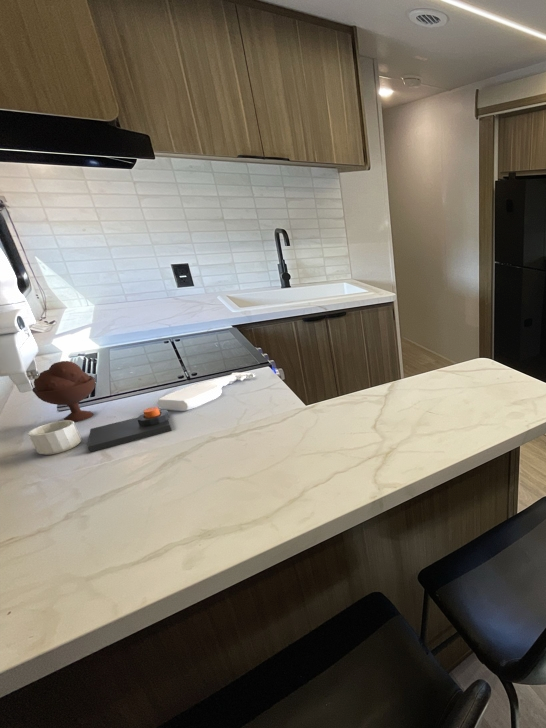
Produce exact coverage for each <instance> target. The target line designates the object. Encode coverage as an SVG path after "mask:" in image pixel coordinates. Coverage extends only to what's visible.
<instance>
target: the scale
mask: <svg viewBox="0 0 546 728" xmlns="http://www.w3.org/2000/svg"><path fill="white" fill-rule="evenodd" d="M159 411H160V415H158V416H156V417H152V418H145V415H144V413H142V414H140V415H139V416H137V417H133V418H129V419H125V420H120V421H117V422H112V423H108V424H105V425H101V426H97V427H92V428H90V430H89V435H88V436H89V437H88V438H89V439H88V445H87V448H88V450H89V452H90V453H93V452H97V451H100V450H104V449H108V448H111V447H115V446H119V445H122V444H126V443H130V442H134V441H137V440H140V439H145V438H148V437H152V436H157V435H159V434H163V433H166V432H167V433H168V432H170V431H172V426H171V423H170V419H171V417H170V414H169V410H165V409H159Z"/></svg>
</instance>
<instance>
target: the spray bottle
mask: <svg viewBox="0 0 546 728" xmlns="http://www.w3.org/2000/svg"><path fill="white" fill-rule="evenodd" d="M254 377H256V373H253V372H232V373H231V374H229V375H227V376H223V377H219V378H216V379H211V380H207V381H200V382H198V383H194V384H191V385H188V386H186V387H183V388H180V389H178V390H175V391H172V392H171V393H168V394H166V395H163V396H162V397H160V398H158V400H157V405H158V406H157V407H158V408H159V409H160V410H167V411H178V412H187V411H190V410H193V409H196V408H198V407H200V406H203V405H204V404H207V403H209V402H211V401H213V400H215V399H217V398H219V397H220V396H221V395H222V392H223V390H222V388H223V387H226V386H228V385H232V384H234V382H236V381H240V382H242V381H244V379H249V378H254Z"/></svg>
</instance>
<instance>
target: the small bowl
mask: <svg viewBox="0 0 546 728" xmlns="http://www.w3.org/2000/svg"><path fill="white" fill-rule="evenodd" d="M27 435H28V438H29V439H30V441H31V443H32V446H33V447H34V450H35V452H36V453H37V454H39V455H44V456H45V455H46V456H49V455H56V454H60V453H63V452H67V451H69V450H71V449H74V448H76V447H77V446H78V445H79V444H80V443H81V442H82V437H81V435H80V432H79V429H78V428H77V426H76V422H74V421H71V420H64V419H63V420H58V421H53V422H48V423H45V424H42V425H39V426H37V427H34V428H32V429H31V430H30V431H28V433H27Z"/></svg>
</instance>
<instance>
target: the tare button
mask: <svg viewBox="0 0 546 728" xmlns="http://www.w3.org/2000/svg"><path fill="white" fill-rule="evenodd" d="M159 410H160V408H159V406H151V407H148V408H145V409H144V410H142V411H143V414H144V415H145V418H152V417H156V416H158V415H160V411H159Z"/></svg>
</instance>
